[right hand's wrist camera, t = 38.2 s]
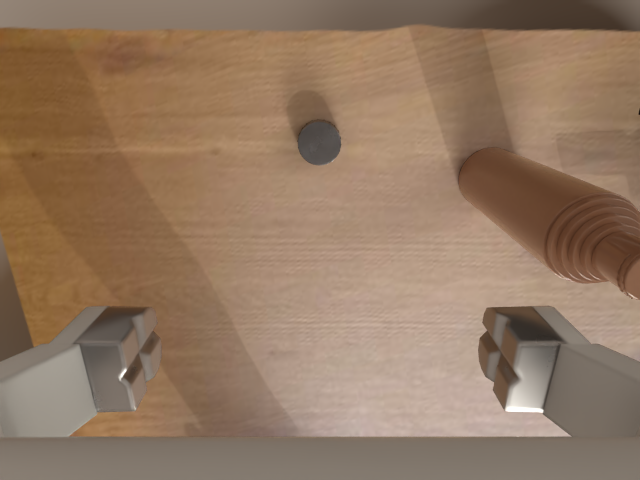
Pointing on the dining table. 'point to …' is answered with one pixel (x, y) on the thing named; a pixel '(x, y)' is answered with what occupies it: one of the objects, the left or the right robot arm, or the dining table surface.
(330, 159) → the cap
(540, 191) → the bottle
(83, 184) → the dining table surface
